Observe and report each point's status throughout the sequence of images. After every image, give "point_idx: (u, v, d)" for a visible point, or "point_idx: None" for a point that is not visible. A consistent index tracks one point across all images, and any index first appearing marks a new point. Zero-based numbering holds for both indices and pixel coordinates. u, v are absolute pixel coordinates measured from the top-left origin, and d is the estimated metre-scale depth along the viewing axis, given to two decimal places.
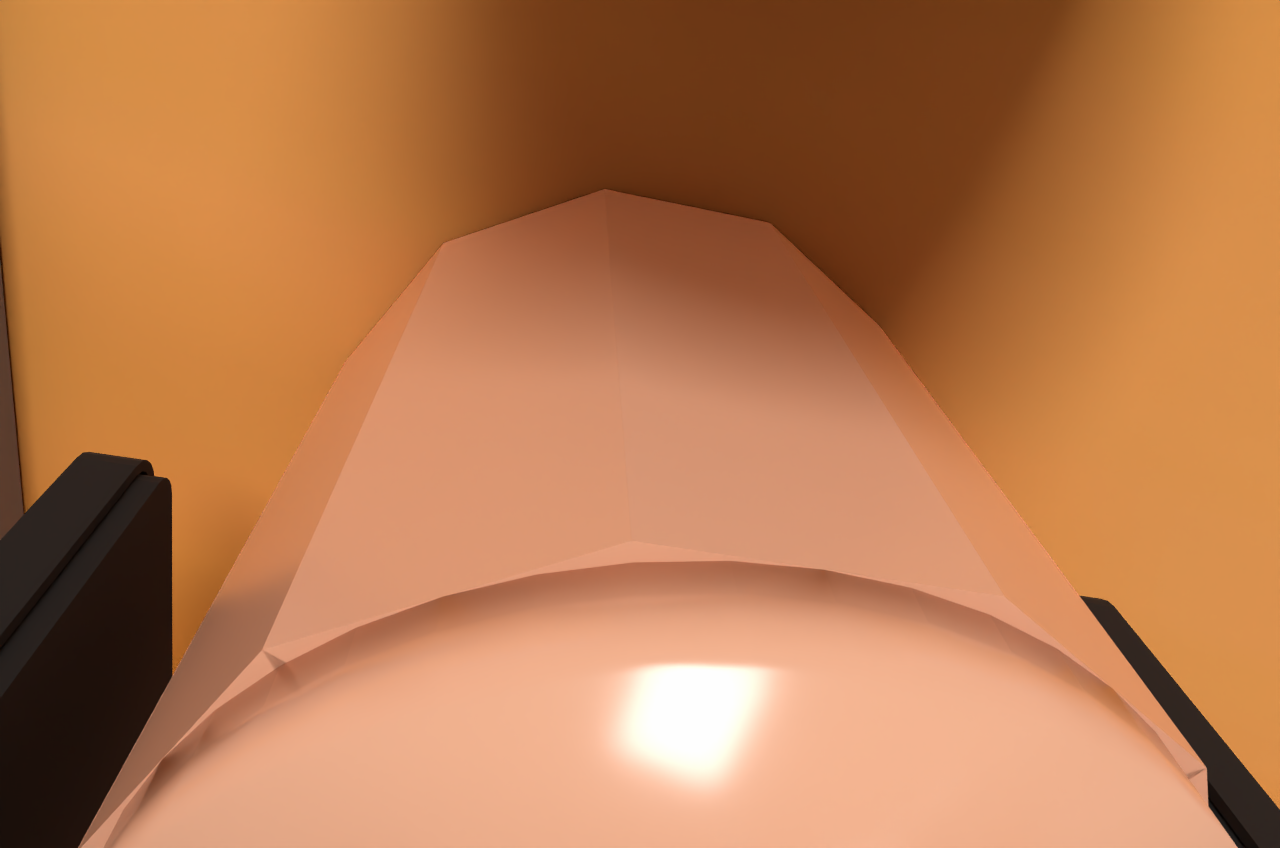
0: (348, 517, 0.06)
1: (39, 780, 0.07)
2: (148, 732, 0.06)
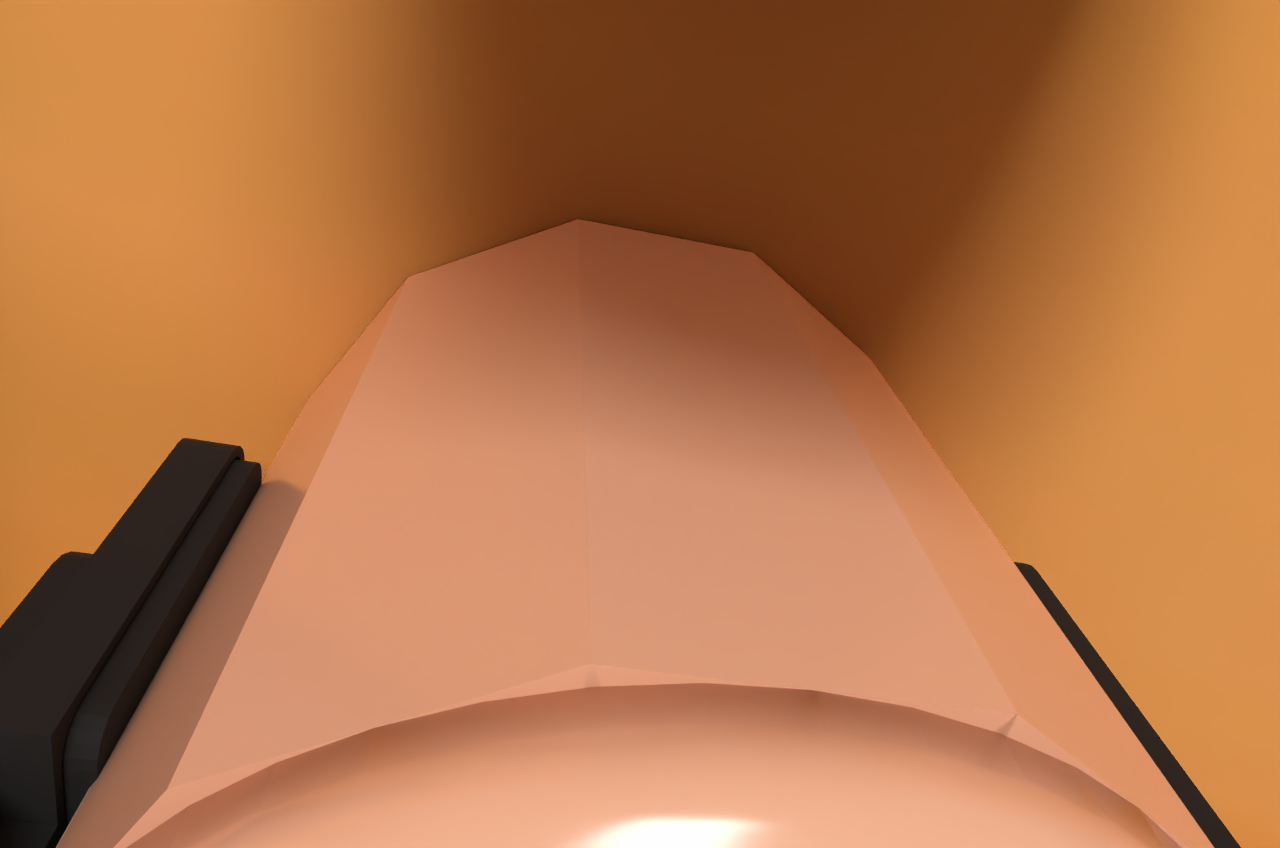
0: (279, 614, 0.05)
1: None
2: None
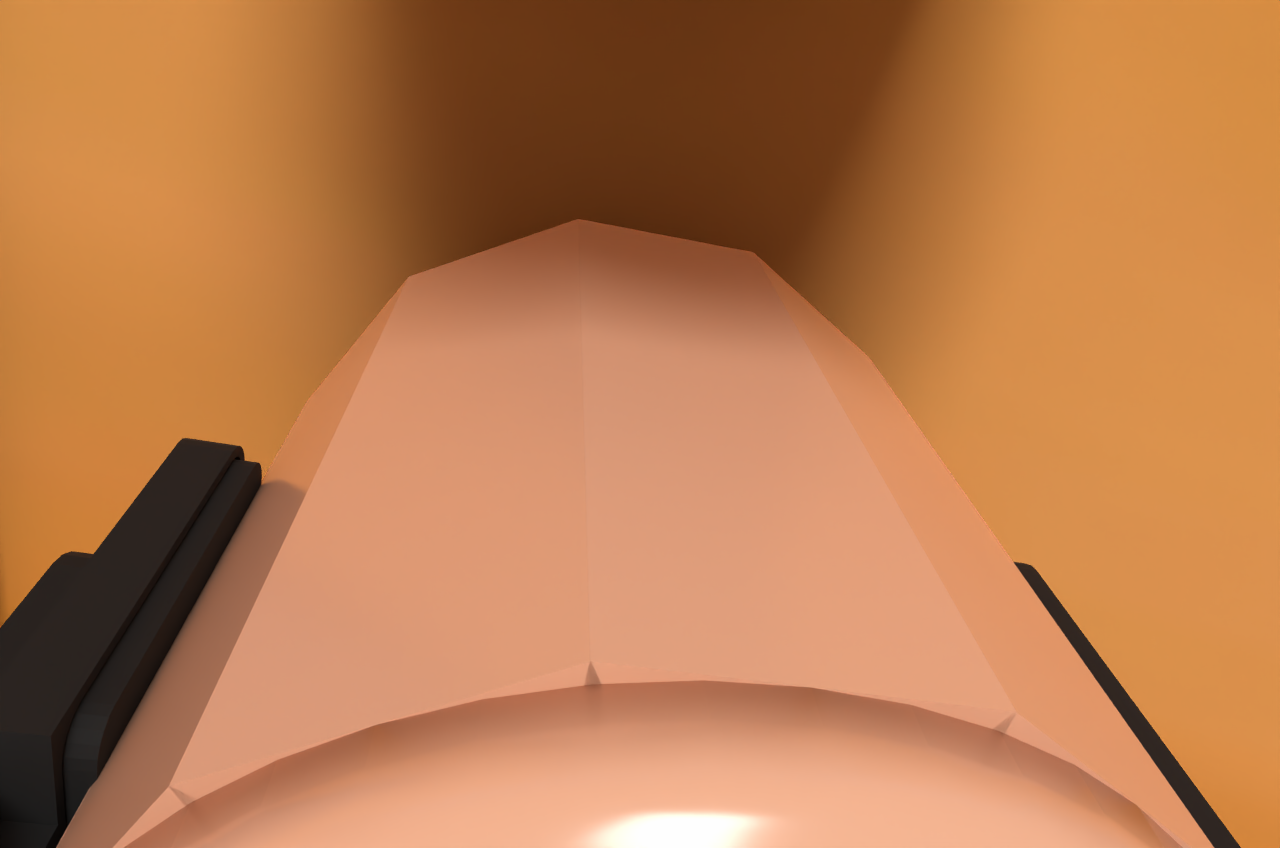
0: (280, 612, 0.05)
1: None
2: None
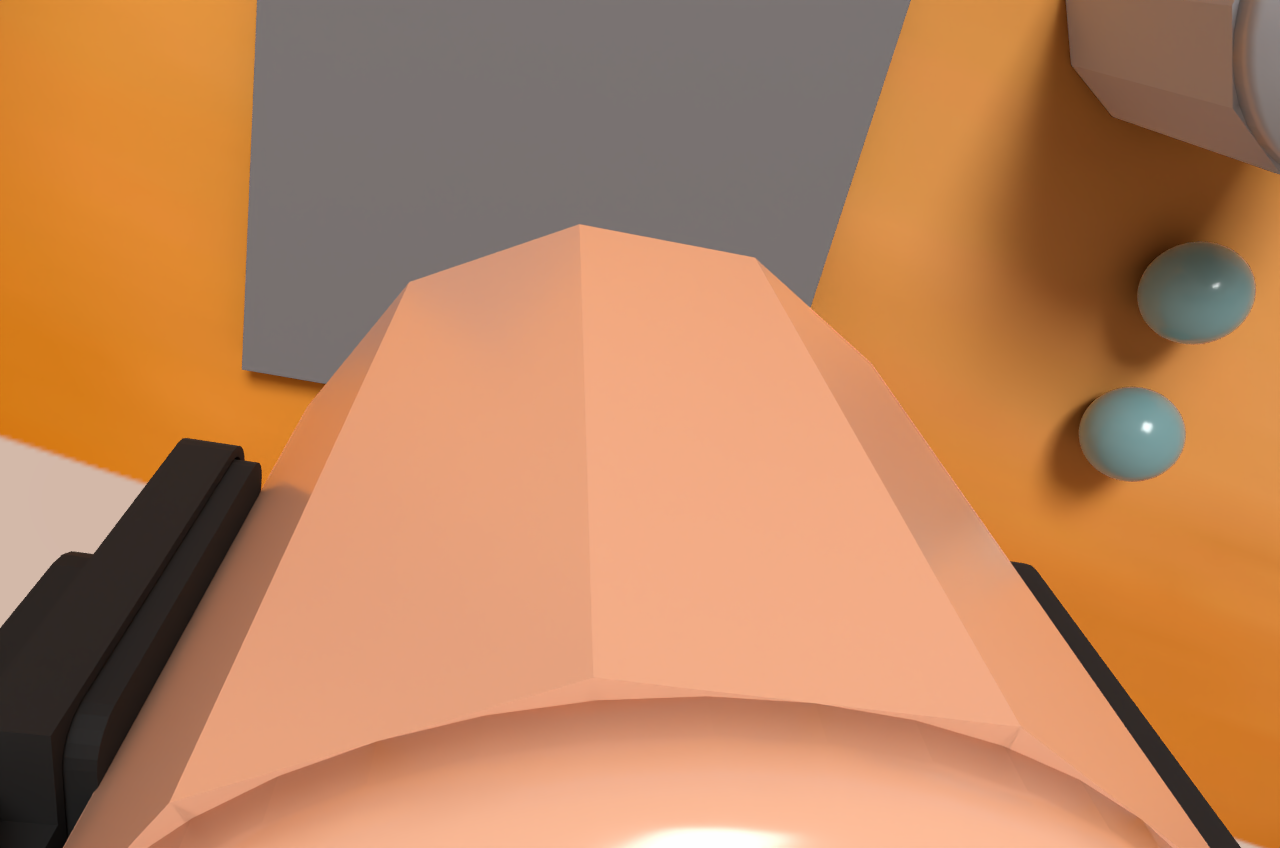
0: (281, 625, 0.05)
1: None
2: None
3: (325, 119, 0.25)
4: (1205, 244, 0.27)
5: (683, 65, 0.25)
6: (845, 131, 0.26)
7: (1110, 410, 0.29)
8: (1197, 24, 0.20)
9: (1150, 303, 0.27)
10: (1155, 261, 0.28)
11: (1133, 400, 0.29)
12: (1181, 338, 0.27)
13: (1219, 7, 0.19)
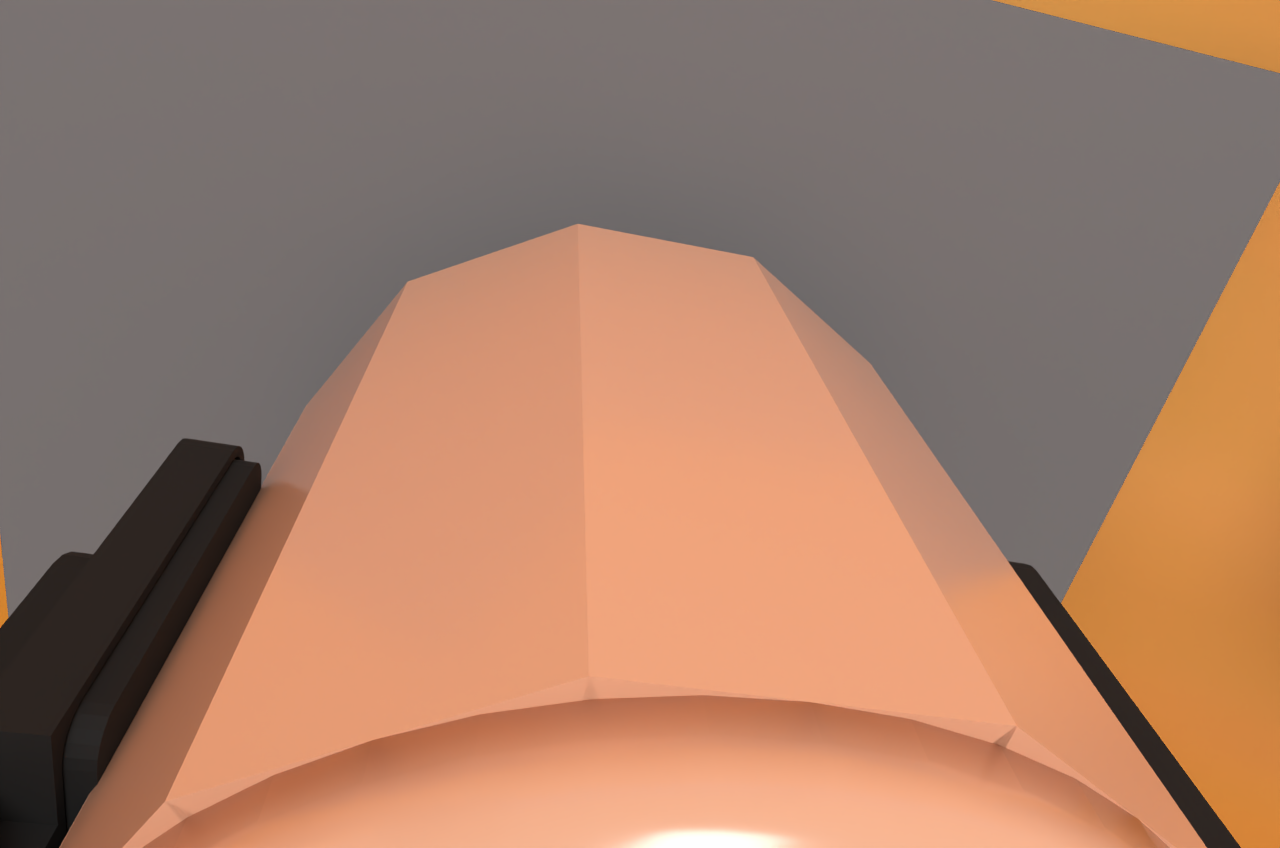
0: (278, 623, 0.05)
1: None
2: None
3: (133, 352, 0.12)
4: None
5: (852, 237, 0.12)
6: (1151, 348, 0.13)
7: None
8: None
9: None
10: None
11: None
12: None
13: None
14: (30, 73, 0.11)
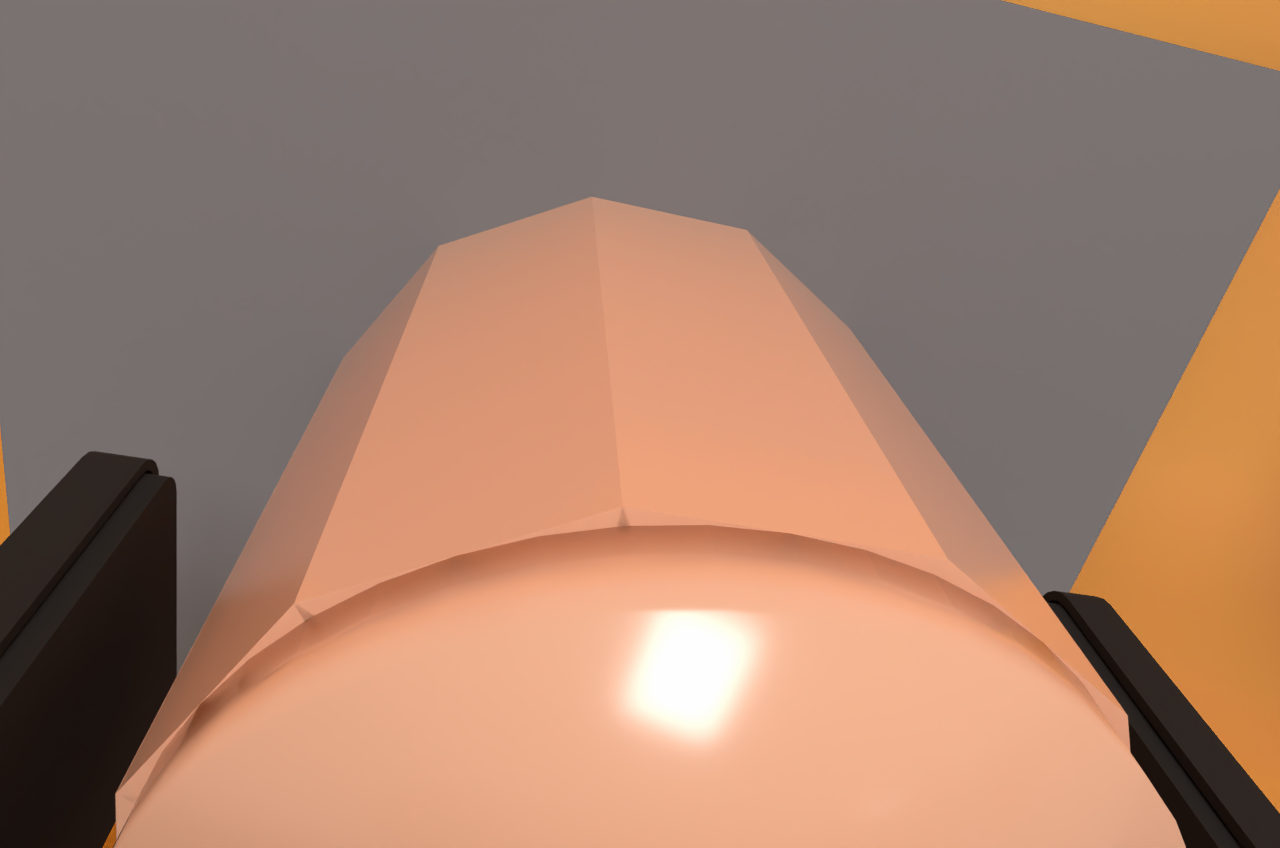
0: (364, 491, 0.07)
1: (46, 778, 0.07)
2: (178, 688, 0.07)
3: (142, 349, 0.12)
4: None
5: (858, 235, 0.12)
6: (1156, 346, 0.13)
7: None
8: None
9: None
10: None
11: None
12: None
13: None
14: (41, 71, 0.11)
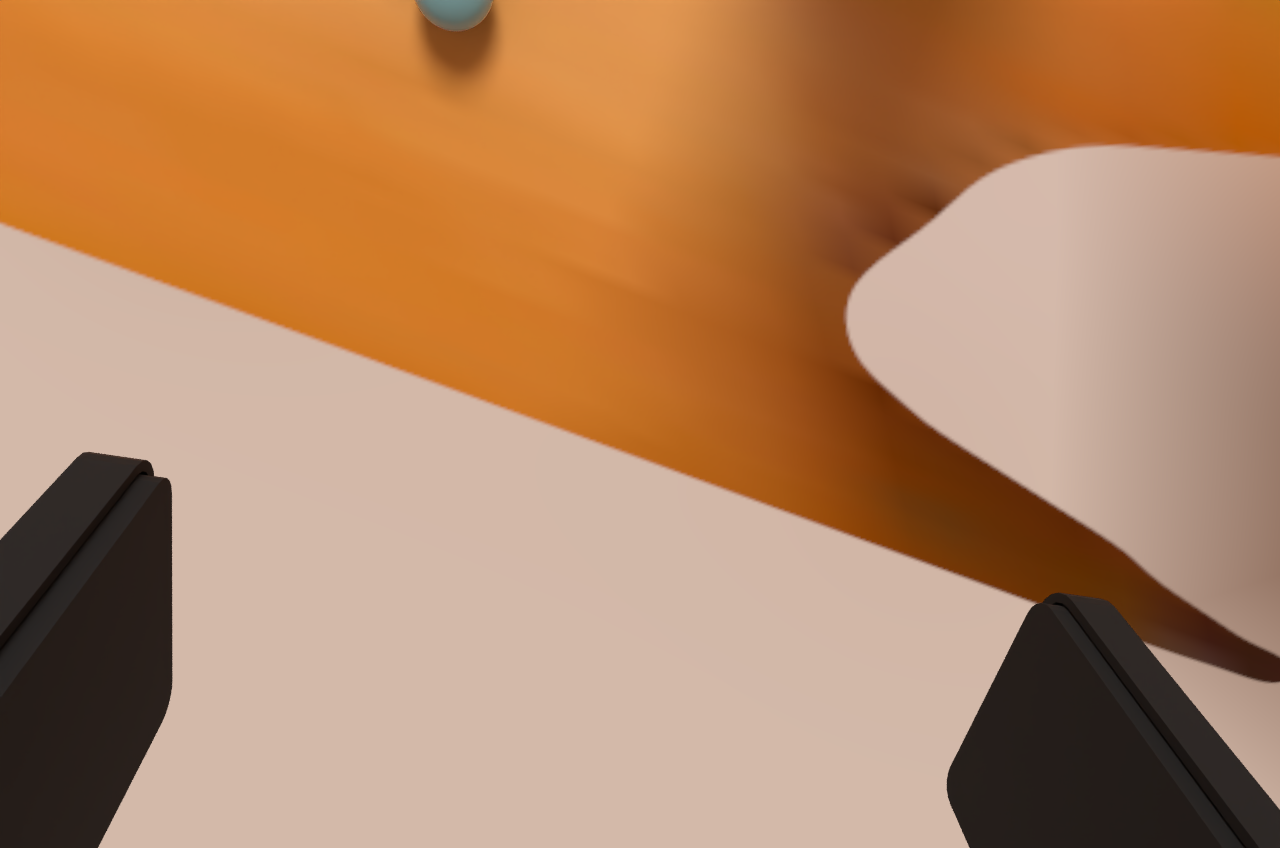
0: None
1: (39, 780, 0.07)
2: None
3: None
4: None
5: None
6: None
7: None
8: None
9: None
10: None
11: None
12: None
13: None
14: None
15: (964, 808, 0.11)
